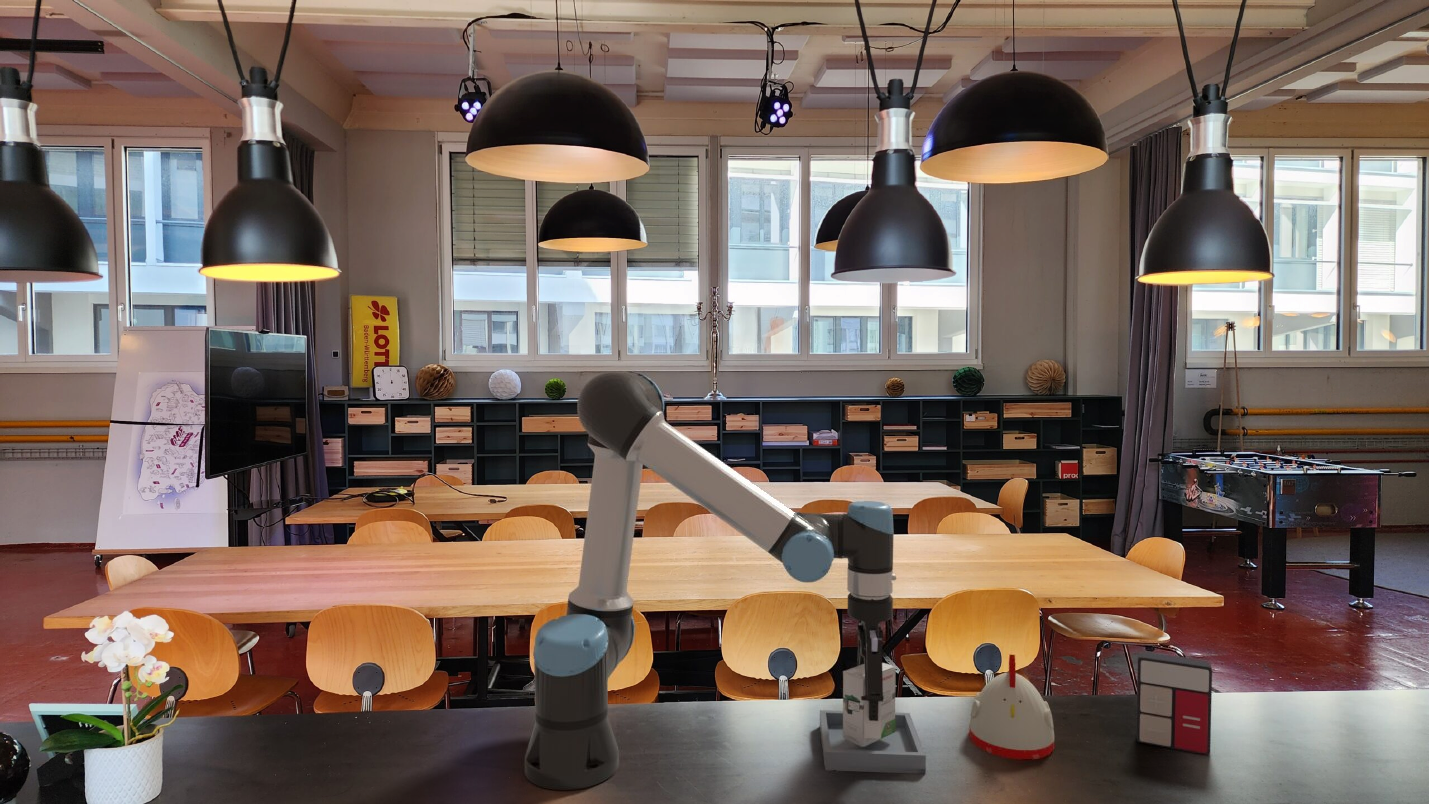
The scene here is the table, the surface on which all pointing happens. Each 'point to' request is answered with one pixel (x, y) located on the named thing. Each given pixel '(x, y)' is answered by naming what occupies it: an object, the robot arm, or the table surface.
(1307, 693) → the table surface
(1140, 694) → the calculator
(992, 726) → the kitchen timer
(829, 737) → the tray
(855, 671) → the ink box
